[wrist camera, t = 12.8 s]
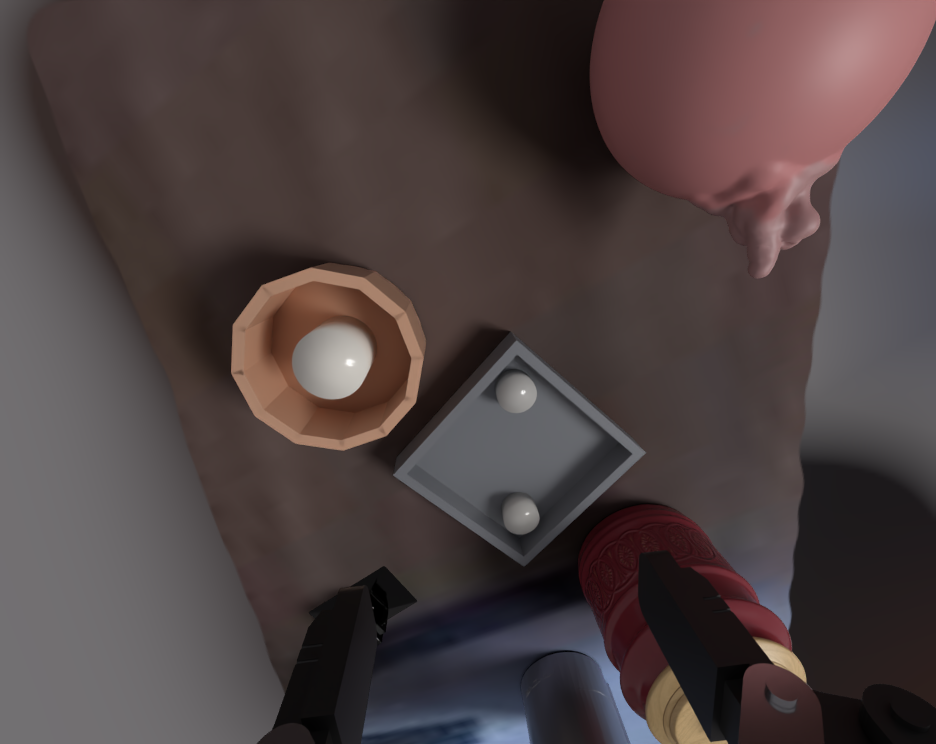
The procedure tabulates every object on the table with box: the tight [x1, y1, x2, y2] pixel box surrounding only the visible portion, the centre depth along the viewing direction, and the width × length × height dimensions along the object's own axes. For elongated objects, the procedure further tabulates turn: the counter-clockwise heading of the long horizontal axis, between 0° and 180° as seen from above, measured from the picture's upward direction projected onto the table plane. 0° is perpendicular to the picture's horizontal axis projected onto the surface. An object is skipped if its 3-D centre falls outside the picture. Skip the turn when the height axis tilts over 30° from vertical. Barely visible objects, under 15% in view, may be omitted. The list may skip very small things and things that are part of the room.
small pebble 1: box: [495, 369, 537, 413], centre depth 35 cm, size 3×3×2 cm
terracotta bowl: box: [231, 262, 426, 450], centre depth 32 cm, size 13×13×6 cm
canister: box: [578, 504, 806, 744], centre depth 35 cm, size 13×13×18 cm
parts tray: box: [393, 332, 646, 566], centre depth 37 cm, size 15×15×3 cm
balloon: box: [590, 0, 936, 278], centre depth 24 cm, size 15×20×15 cm
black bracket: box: [309, 566, 417, 645], centre depth 42 cm, size 12×7×5 cm, turn 125°
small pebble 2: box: [501, 492, 540, 535], centre depth 39 cm, size 3×3×2 cm
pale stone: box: [292, 316, 377, 399], centre depth 32 cm, size 5×5×5 cm
